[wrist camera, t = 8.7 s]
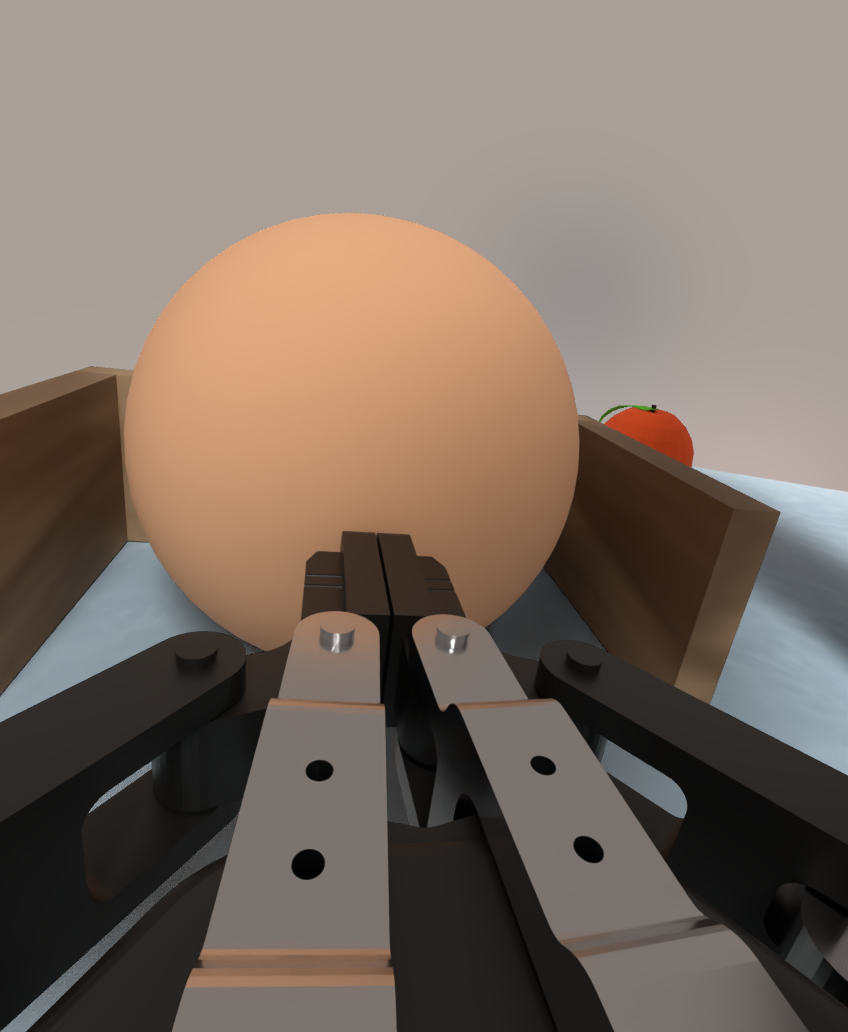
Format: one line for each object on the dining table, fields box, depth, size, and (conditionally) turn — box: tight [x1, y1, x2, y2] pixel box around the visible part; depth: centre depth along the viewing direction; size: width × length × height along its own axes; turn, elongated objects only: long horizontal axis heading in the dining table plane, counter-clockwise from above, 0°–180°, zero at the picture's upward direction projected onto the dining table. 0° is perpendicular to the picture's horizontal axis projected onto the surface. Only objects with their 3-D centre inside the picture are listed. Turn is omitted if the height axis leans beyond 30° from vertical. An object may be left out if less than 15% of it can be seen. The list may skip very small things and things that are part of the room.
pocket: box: [0, 366, 781, 705], centre depth 22 cm, size 23×14×8 cm, turn 99°
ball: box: [124, 213, 580, 651], centre depth 19 cm, size 14×14×14 cm
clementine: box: [599, 405, 694, 467], centre depth 41 cm, size 8×7×7 cm
